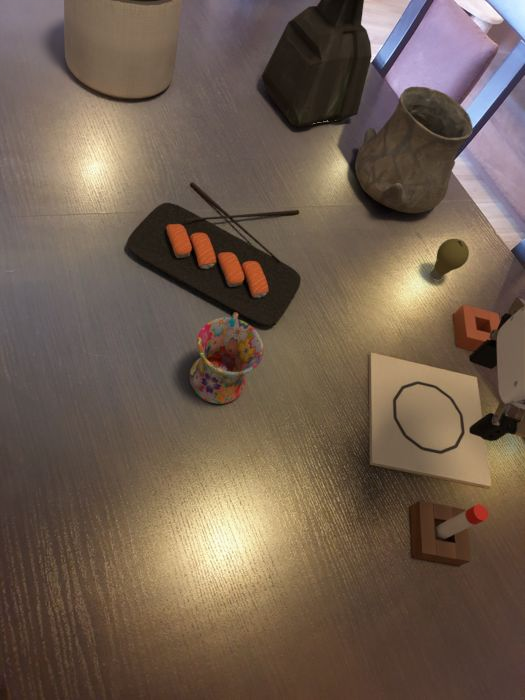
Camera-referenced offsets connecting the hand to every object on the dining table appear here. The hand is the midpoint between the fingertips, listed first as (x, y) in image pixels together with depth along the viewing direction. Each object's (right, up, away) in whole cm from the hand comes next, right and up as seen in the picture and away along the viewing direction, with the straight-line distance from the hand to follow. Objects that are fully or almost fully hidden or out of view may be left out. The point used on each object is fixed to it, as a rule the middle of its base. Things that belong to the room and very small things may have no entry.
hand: (480, 397), depth 65 cm
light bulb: (+9, +20, +47) cm, 51 cm away
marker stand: (0, -22, +18) cm, 28 cm away
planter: (-55, +65, +55) cm, 101 cm away
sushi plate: (-30, +25, +38) cm, 55 cm away
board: (+2, -6, +28) cm, 29 cm away
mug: (-32, +2, +23) cm, 39 cm away
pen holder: (+14, +8, +41) cm, 44 cm away
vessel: (+2, +41, +58) cm, 71 cm away
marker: (0, -22, +18) cm, 28 cm away
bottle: (-15, +61, +66) cm, 91 cm away
